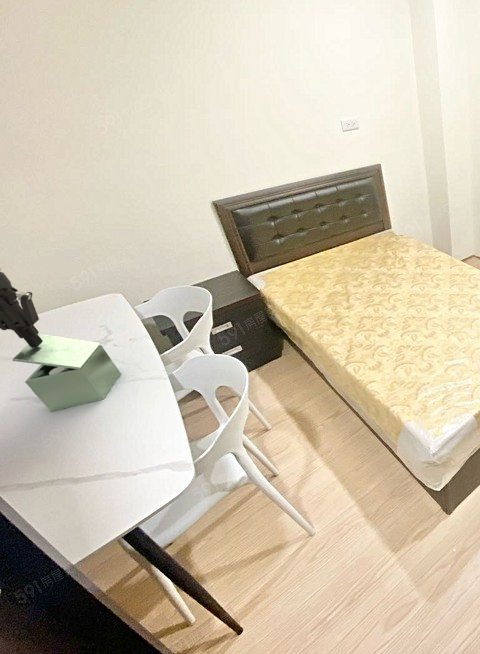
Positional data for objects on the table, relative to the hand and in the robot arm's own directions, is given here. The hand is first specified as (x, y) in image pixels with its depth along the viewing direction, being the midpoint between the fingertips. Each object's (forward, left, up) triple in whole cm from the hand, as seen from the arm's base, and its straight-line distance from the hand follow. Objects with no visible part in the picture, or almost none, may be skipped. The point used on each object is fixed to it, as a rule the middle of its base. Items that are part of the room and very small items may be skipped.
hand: (37, 344), depth 119 cm
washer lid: (+3, 0, -4) cm, 5 cm away
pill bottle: (0, 0, -20) cm, 20 cm away
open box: (+3, 0, -21) cm, 21 cm away
